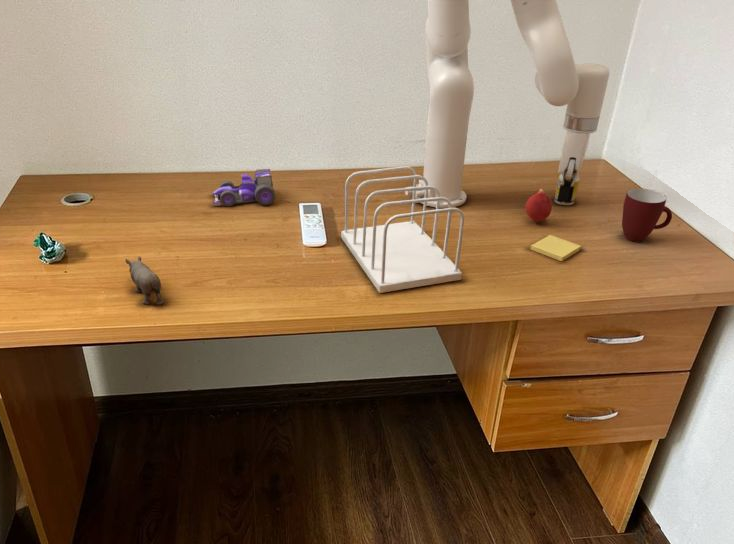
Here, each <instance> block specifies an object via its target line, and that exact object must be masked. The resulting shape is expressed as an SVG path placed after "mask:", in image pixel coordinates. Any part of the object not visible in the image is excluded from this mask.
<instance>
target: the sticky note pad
mask: <svg viewBox="0 0 734 544" xmlns="http://www.w3.org/2000/svg"><path fill="white" fill-rule="evenodd" d="M581 248H582V245H580V244H577V243H574V242H571V241H568V240H565V239H563V238H560V237H558V236H555V235H552V234H549V235H547V236H545V237H543V238H542V239H540V240H538V241H537V242H534V243H533V244H531V245H530V250H531V251H533V252H535V253H539V254H541V255H544V256H545V257H546V256H547V257H549V258H552V259H554V260H557V261H560V262H563V261H565V260H567V259H568V258H570V257H571V256H574V254H576V253H578V252H580V251H581Z"/></svg>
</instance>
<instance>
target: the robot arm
mask: <svg viewBox="0 0 734 544" xmlns="http://www.w3.org/2000/svg"><path fill="white" fill-rule="evenodd" d="M510 3H511V7H512V10H513V14H514V17H515V21H516V24H517V27H518V30H519V33H520V35H521V37H522V39H523V41H524V43H525V44H526V45H527V47H528V49H529V51H530V54H531V57H532V59H533V63H534V64H535V67H536V73H535V76H534V83H535V88H536V89H537V91H538V92H539V93H540V95H541V96H542V97H543V99H544V100H545V102H547V103H548V104H549V105H551V106H553V107H564V106H566V109H565V115H564V120H563V125H562V128H563V130H565V136H564V141H563V145H562V150H561V154H560V160H559V165H558V169H557V173H558V174H561V173H563V172H564V175H563V180H562V184H561V185H560V189H559V194H558V199H557V200H558V201H561V202H568V203H570V202H571V199H572V195H573V190H574V186H573V185H574V180H575V176H576V175H578V174H580V172H581V169H582V166H583V163H584V159H585V157H586V154H587V149H588V145H589V140H590V136H591V134H593V133H596V132H597V130H598V126H599V122H600V118H601V114H602V108H603V106H604V105H603V104H604V100H605V95H606V90H607V87H608V82H609V78H610V70H609V67H607V66H606V65H604V64H600V63H593V62H590V63H587V62H586V63H581V64H579V63H575V59H574V55H573V52H572V49H571V45H570V42H569V39H568V37H567V36H568V35H567V33H566V30H565V27H564V23H563V22H564V21H563V19H562V16H561V13H560V10H559V7H558V3H557V0H510ZM469 5H470V4H469V0H427V13H428V15H427V16H428V17H427V18H426V21H425V27H424V28H425V31H424V33H425V51H426V65H427V79H428V84H429V86H428V87H429V102H428V103H429V105H428V111H427V112H428V113H427V123H426V133H425V134H426V136H425V148H424V150H425V151H424V159H423V174H422V176H423V177H424V178H426V180H427V182H428V186H433V187H435V188H436V189H437V190H438V191H439V193H440V197H445V198H447V199H448V200H449V201H450V202H451V204H452V208H458V207H459V206H462V205H464V204H465V203H466V201H467V196H468V195H467V193H466V192H465V191H464V190H463V189H462V184H463V176H464V167H465V158H466V150H467V140H468V130H469V122H470V116H471V111H472V107H473V100H474V93H475V83H474V79H473V75H472V73H471V71H470V69H469V49H468V47H469V46H468V45H469V42H470V38H471V23H470V7H469ZM566 170H568V171H567V173H566ZM573 171H575V173H573ZM572 176H573V179H572ZM578 176H579V175H578ZM571 183H572V184H571ZM421 186H425V182H424V180H422V179H418V183H416V187H421ZM410 187H413V186H406V187H405V188H410ZM404 194H405V195H406V196H413V191H404ZM424 196H425V190H416V196H415V199H424ZM434 197H437V193H436V192H435V191H434V190H432V189H428V195H427V198H434ZM419 203H420V204H421V205H424V202H419ZM436 203H437V201H429V202H427V205H426V207H431V208H436ZM445 208H449V205H448V203H447V202H446V201H443V200H440V205H439V209H445Z"/></svg>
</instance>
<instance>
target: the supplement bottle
mask: <svg viewBox="0 0 734 544" xmlns="http://www.w3.org/2000/svg"><path fill="white" fill-rule="evenodd" d="M567 171H568V170H566V173H567ZM573 173H575V171H573ZM579 174H580V173H579ZM579 174H578V175H576V176H575V180H574V185H573V186H574V190H573V195H572V199H571V202H570V203H568V202H561V201H558V200H557V199H558V194H559V189H560V185H561V184H562V180H563V175H564V172H563V173H560V175H559V176H558V179H557V183H556V190H555V196H554V202H555V203H556V204H558V205H562V206H571V205H573V204H574V203H575V201H576V196H577V192H578V187H579V183H580V177H579ZM572 179H573V176H572ZM571 184H572V183H571Z"/></svg>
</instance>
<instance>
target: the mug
mask: <svg viewBox="0 0 734 544" xmlns="http://www.w3.org/2000/svg"><path fill="white" fill-rule="evenodd" d="M666 203H667V196H666V195H665V194H664V193H662V192H660V191H658V190H654V189H650V188H632V189H628V191H627V192H626V194H625V196H624V201H623V206H622V217H621V228H622V232H623V236H624V238H625V239H626V240H628V241H630V242H634V243H639V242H640V243H641V242H643V241H645V239H647V238H648V237H649V236H650V235H651V234H652V232H653V231H654V230H660V229H664V228H665V227H667V226H668V225H669V224H670V223H671V221H672V219H673V213H672V210H671V209H670V208H669V207H667V206H666ZM663 213H665V215H666V218H665V220H663V222H662V223H660V224H657V223H658V222H659V220H660V218H661V216H662V214H663Z"/></svg>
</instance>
